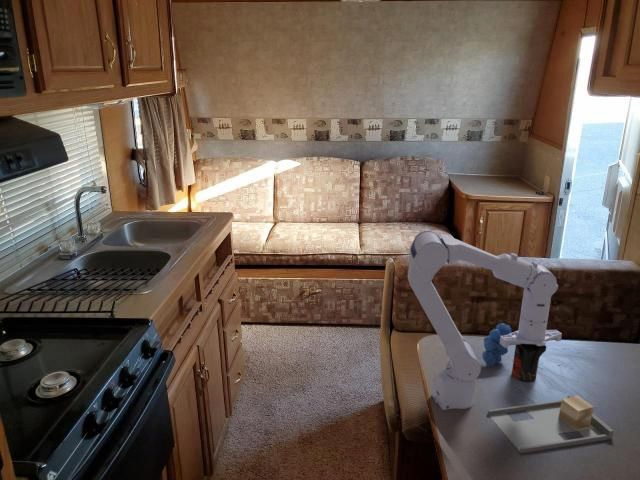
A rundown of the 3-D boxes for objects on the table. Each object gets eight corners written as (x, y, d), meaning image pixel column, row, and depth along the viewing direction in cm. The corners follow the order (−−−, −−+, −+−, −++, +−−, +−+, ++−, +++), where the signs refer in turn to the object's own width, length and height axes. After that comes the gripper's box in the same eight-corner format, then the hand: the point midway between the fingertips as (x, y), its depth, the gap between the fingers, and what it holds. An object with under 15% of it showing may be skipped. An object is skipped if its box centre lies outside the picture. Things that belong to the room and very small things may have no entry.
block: (574, 430, 107) (578, 411, 106) (558, 417, 111) (562, 399, 110) (589, 426, 109) (593, 406, 107) (573, 413, 113) (577, 395, 111)
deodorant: (537, 388, 125) (546, 336, 120) (512, 385, 126) (520, 333, 122) (532, 375, 130) (540, 325, 126) (509, 373, 132) (516, 323, 127)
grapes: (493, 350, 143) (498, 313, 139) (514, 360, 138) (519, 322, 134) (469, 363, 136) (473, 324, 132) (490, 374, 131) (495, 334, 127)
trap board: (520, 459, 101) (522, 445, 100) (486, 419, 113) (488, 406, 112) (610, 444, 105) (613, 430, 104) (568, 407, 117) (571, 395, 116)
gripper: (515, 328, 105) (508, 383, 109) (574, 322, 108) (565, 375, 112) (497, 314, 111) (491, 366, 115) (553, 308, 114) (545, 359, 118)
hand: (526, 370), depth 114 cm, fingers closed
